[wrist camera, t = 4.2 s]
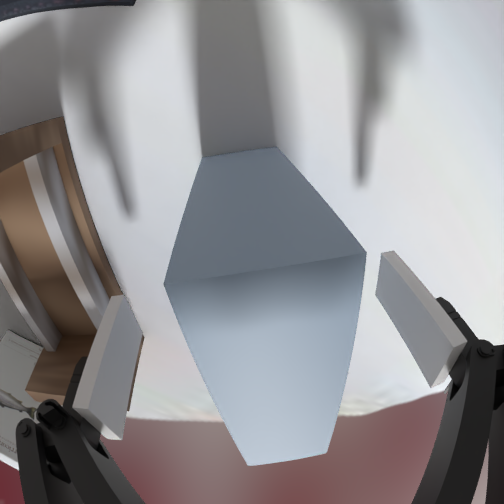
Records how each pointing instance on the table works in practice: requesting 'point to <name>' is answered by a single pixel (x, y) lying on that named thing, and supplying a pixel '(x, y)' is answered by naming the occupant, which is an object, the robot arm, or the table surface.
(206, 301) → the blue-grey rectangular block
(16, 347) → the supplement box
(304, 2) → the table surface
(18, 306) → the track frame
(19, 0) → the wallet
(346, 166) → the table surface
